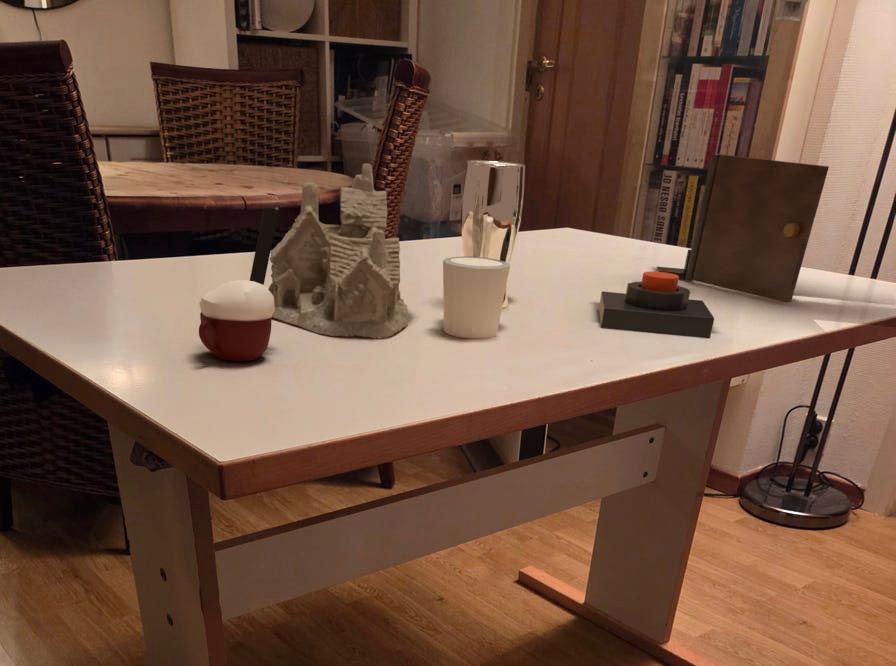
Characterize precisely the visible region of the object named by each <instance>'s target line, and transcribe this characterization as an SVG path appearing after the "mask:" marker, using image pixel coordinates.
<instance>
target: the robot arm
mask: <svg viewBox="0 0 896 666" xmlns="http://www.w3.org/2000/svg"><path fill="white" fill-rule="evenodd" d="M808 2H809V0H798V1H796V0H795V1H792V0H776V3H777V5H776V9H775V10H776V11H775V14H774V21H789V22H791V21H792V22H800V21H802V19H803V15H804V13H805V12H804V11H805V8H806V4H807V3H808Z"/></svg>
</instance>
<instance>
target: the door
mask: <svg viewBox="0 0 896 666" xmlns="http://www.w3.org/2000/svg"><path fill="white" fill-rule="evenodd" d="M829 168H830V166H827V165H819V164H811V163H802V162H791V161H785V160H784V161H783V160H776V159H767V158H766V159H765V158H757V157H748V156H740V155H739V156H738V155H731V154H730V155H729V154H721V153H711V156H710V160H709V164H708V169H707V175H706V178H705V179H706V180H705V184H704V187H703V188H704V189H703V193H702V197H701V202H700V207H699V212H698V216H697V221H696V226H695V231H694V236H693V239H692V245H691V249H690V250H691V254H690V258H689V263H688V268H687V272H686V277H685V279H688V280H692V281H694V282H698V283H703V284H707V285H711V286H716V287H719V288H724V289H728V290H731V291H736V292H740V293H744V294H748V295H753V296H757V297H762V298H766V299H770V300H774V301H778V302H781V303H786V304H787V303H791V302H792V300H793V297H794V293H795V291H796V290H795V289H796V287H797V284H798V279H799V276H800V273H801V268H802V265H803V261H804V257H805V254H806V250H807V247H808V243H809V239H810V236H811V232H812V229H813V225H814V223H815V219H816V215H817V211H818V207H819V204H820V200H821V196H822V193H823V190H824V186H825V183H826V179H827V175H828V171H829Z"/></svg>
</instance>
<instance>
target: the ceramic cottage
mask: <svg viewBox="0 0 896 666" xmlns="http://www.w3.org/2000/svg"><path fill="white" fill-rule="evenodd" d="M374 186H375V185H374V174H373V166H372V164H370V163H363V164H362V167H361V173H360V174H356V175H355V177H354V179H353V181H352V185H351V187H346V186H340V189H339V210H340V211H339V221H340V224H326V223H322V222H321V221H320V217H319V192H318V191H319V185H317V183H316V182H308V181H306V182H304V183H302V185H301V187H302V188H301V189H302V190H301V203H300V205H301V206H300V212H299V215H297V216H296V218H294V221H295V222H293V224H292V226H291V228H290V229H289V230H288V231H287V233H285V234H284V237H282V240H280V241H279V242H278V243H277V244H276V246H274V248H273V249H271V251H270V256H269V261H270V263H271V267H270V270H271V272H272V273H271V275H270V277H271V279H272V280H271V283H270V284H269V286H268V290H269V291H270V292H271V294H272V295H273V297H274V305H275V311H274V313H273V315H272V319H277V320H279V321H281V322H283V323H284V322H285V323H288V324H291V325H294V326H295V325H296V326H298V327H301V328H303V329H305V330H308V331H310V332H313V333H316V334H321V335H327V336H331V337H337V336H338V337H340V336H341V337H347V338H348V337H349V336H350V337H351V338H353V337H354V336H358V337H363V338H366V337H367V338H372V339H373V338H374V339H376V338H377V339H380V340H381V339H382V338H384V339H386V338H390V337H391V336H395V334H397V333H398V332H399V333H400V332H401V330H402V329H404V328H406V327H407V326H408V324H409V316H408V313H409V311H408V309H409V308H408V304H406V303H405V301H404V299H403V298H401V291H400V283H401V259H400V252H401V246H400V237H391V238H386V235H385V232H386V230H387V227H388V225H387V220H388V203H387V195H388V194H387V191H386V190H381V191H380V190H379V191H377V190H375V187H374Z"/></svg>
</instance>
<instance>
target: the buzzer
mask: <svg viewBox="0 0 896 666" xmlns="http://www.w3.org/2000/svg"><path fill="white" fill-rule="evenodd" d="M641 283H642V281H632V282H629V283H627V286H626V291H625V292H613V291H601V293H600V299H599V304H598V315H599V324H600V328H601V329H609V330H617V331H618V330H619V331H628V332H629V331H630V332H639V333H640V332H641V333H651V334H662V335H672V336H683V337H692V338H694V337H695V338H702V339H703V338H704V339H711V334H712V330H713V326H714V322H715V317H714V315H713V314H712V312H711V311H710V310H709V308H708V306H707V305H706V304H705V302H704V300H699V299H690V294H691V291H690V289H689V288H687V287H685V286H681V285H677V290H676V292H663V291H654V290H648V289H644V288H641Z"/></svg>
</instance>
